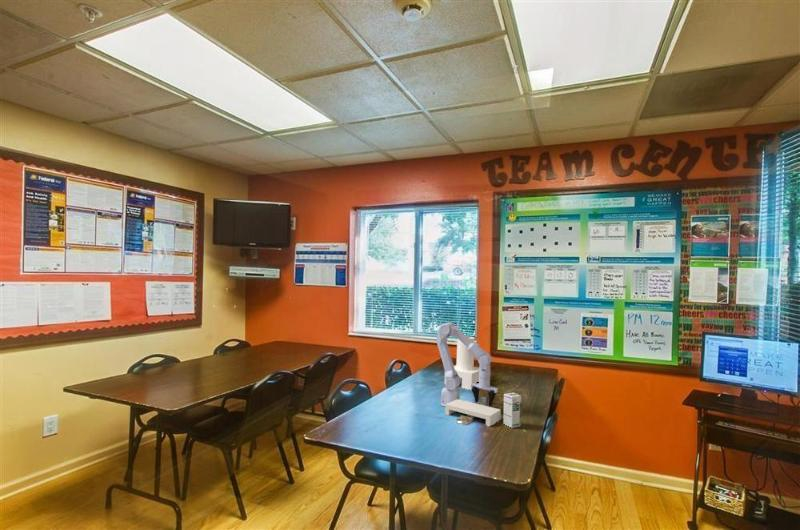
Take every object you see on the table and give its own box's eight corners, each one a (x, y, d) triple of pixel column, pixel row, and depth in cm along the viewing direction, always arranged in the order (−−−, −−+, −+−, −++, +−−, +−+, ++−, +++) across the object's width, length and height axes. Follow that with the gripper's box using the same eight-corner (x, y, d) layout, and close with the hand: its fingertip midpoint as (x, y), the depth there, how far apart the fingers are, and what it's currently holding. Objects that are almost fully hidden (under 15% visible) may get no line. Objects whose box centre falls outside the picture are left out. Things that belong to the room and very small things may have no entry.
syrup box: (511, 428, 187) (512, 396, 187) (502, 424, 192) (503, 393, 193) (520, 426, 190) (521, 395, 190) (512, 422, 195) (512, 391, 195)
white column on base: (458, 378, 275) (459, 334, 275) (484, 384, 264) (485, 337, 264) (444, 384, 260) (445, 337, 260) (471, 390, 249) (472, 340, 249)
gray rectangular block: (480, 408, 214) (480, 395, 214) (491, 411, 210) (491, 397, 210) (460, 419, 197) (460, 404, 197) (471, 422, 193) (471, 407, 193)
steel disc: (453, 422, 193) (453, 419, 193) (462, 420, 197) (462, 417, 197) (462, 426, 188) (462, 424, 188) (471, 424, 192) (471, 421, 192)
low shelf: (445, 414, 203) (445, 404, 203) (457, 408, 212) (457, 399, 213) (489, 426, 188) (490, 415, 188) (500, 419, 198) (500, 409, 198)
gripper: (500, 378, 209) (499, 405, 209) (475, 373, 218) (474, 398, 218) (495, 381, 203) (494, 408, 203) (469, 375, 212) (468, 401, 212)
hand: (483, 403), depth 210 cm, fingers open, 7 cm apart
